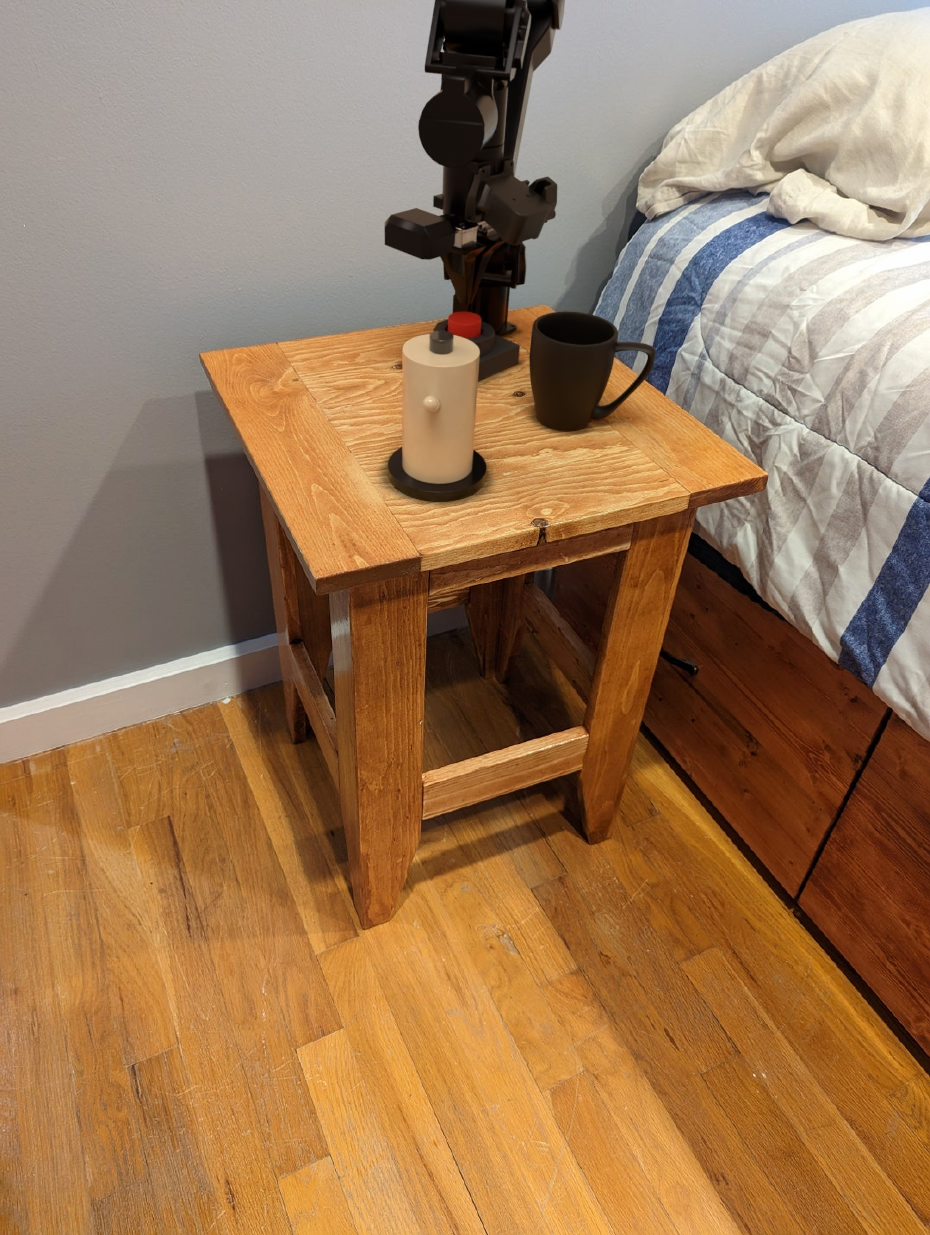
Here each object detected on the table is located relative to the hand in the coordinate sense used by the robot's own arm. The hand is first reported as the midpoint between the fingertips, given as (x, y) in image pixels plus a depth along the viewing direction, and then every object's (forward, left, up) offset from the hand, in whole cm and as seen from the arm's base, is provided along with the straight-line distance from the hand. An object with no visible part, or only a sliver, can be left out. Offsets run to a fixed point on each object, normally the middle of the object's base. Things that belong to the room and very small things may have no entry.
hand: (465, 303), depth 92 cm
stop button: (0, 0, -3) cm, 3 cm away
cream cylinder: (+20, +15, -6) cm, 25 cm away
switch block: (0, 0, -7) cm, 7 cm away
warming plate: (+19, +14, -7) cm, 24 cm away
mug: (+1, +17, -7) cm, 18 cm away
